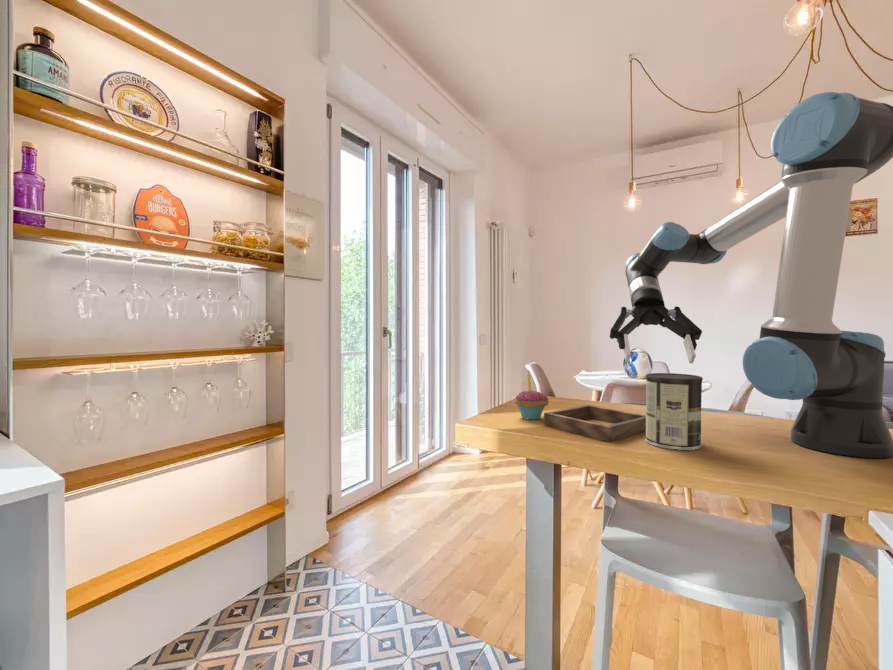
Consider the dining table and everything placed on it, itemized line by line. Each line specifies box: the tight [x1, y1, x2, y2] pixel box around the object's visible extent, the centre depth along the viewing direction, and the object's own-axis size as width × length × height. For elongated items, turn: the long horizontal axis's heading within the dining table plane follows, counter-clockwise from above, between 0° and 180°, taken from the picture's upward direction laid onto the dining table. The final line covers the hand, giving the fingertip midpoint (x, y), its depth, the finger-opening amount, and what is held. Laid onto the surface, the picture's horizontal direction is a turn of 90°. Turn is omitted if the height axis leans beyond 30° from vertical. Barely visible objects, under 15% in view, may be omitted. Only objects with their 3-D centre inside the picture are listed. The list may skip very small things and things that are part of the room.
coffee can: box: [645, 372, 703, 451], centre depth 86 cm, size 10×10×14 cm
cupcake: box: [514, 370, 550, 420], centre depth 109 cm, size 9×8×12 cm
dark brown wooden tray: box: [543, 404, 646, 443], centre depth 99 cm, size 17×17×3 cm
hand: (659, 358), depth 96 cm, fingers open, 13 cm apart
